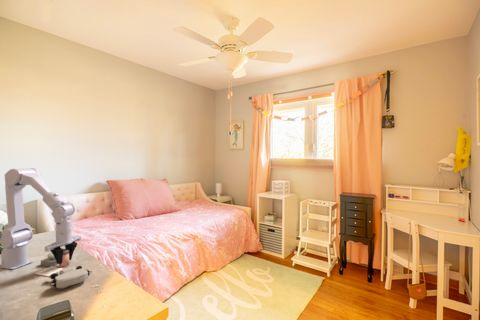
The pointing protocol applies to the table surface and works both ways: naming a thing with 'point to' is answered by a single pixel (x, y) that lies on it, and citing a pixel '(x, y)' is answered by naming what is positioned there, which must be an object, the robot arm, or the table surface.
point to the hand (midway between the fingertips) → (64, 261)
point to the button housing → (48, 262)
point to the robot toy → (69, 277)
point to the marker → (65, 259)
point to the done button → (51, 256)
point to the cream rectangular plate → (49, 271)
